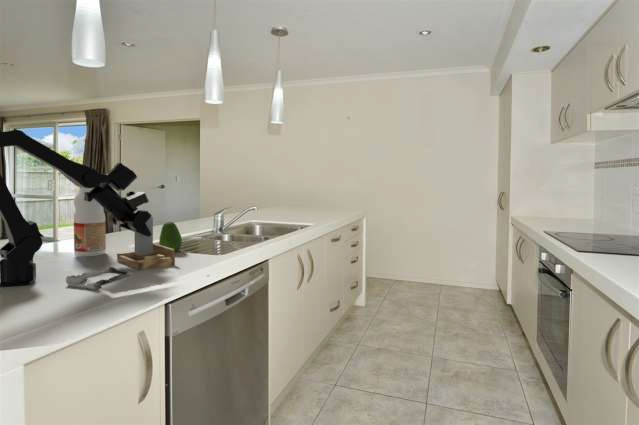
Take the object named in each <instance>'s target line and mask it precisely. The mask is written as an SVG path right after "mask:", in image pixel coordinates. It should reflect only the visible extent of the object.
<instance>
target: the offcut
mask: <svg viewBox="0 0 639 425" xmlns="http://www.w3.org/2000/svg"><path fill="white" fill-rule="evenodd" d="M160 258H165V256H164V255H160V254H158V255H152V256H146V257H145V260H153V259H160Z"/></svg>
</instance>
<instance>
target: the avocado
mask: <svg viewBox="0 0 639 425" xmlns="http://www.w3.org/2000/svg"><path fill="white" fill-rule="evenodd" d="M182 240H183V239H182V236H181V232H180V230H179V228H178V226H177V225H176V224H175V222H173V221H168V222H164V224H163V225H162V227H161V230H160V235H159V243H158V245H162V246H165V247H168V248H172V249H175V253H178V252H179V251H180V249H181V248H182V244H183V241H182Z"/></svg>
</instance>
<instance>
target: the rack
mask: <svg viewBox="0 0 639 425" xmlns="http://www.w3.org/2000/svg"><path fill="white" fill-rule="evenodd" d="M158 254H160V255H164V256H165V258H160V259H153V260H145V257H146V256H152V255H158ZM175 255H176V252H175V249H172V248H168V247H165V246H162V245H160V244H159V243H158V244H157V243H154V242H153V254H148V255H140V256H138V255H136V254H135V251H127V252H120V253H117V254H116V262H118V263H121V264H123V265H125V266H128V267H130V268H132V269H135V270H137V271H145V270H153V269H159V268H166V267H171V266H175V264H176V263H175V262H176V259H175V258H176V256H175Z"/></svg>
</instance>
